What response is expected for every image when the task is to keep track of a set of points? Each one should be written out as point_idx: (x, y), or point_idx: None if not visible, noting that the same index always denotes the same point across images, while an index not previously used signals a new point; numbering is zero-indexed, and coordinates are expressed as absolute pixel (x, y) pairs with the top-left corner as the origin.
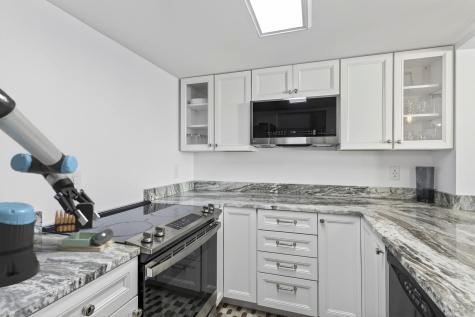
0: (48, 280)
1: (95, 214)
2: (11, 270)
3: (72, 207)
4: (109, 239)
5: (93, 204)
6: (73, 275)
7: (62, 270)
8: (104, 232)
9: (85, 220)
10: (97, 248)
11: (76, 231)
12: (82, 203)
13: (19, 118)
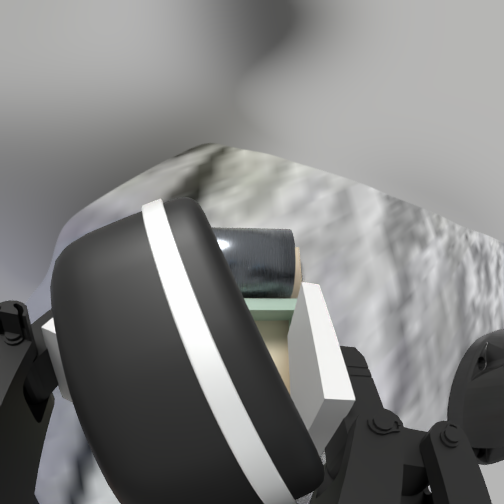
0: (484, 279)
1: None
2: None
3: (396, 477)
4: None
5: (4, 303)
6: (455, 237)
7: (449, 286)
8: (233, 233)
9: (320, 295)
10: (299, 262)
11: (34, 498)
12: (236, 392)
13: None
